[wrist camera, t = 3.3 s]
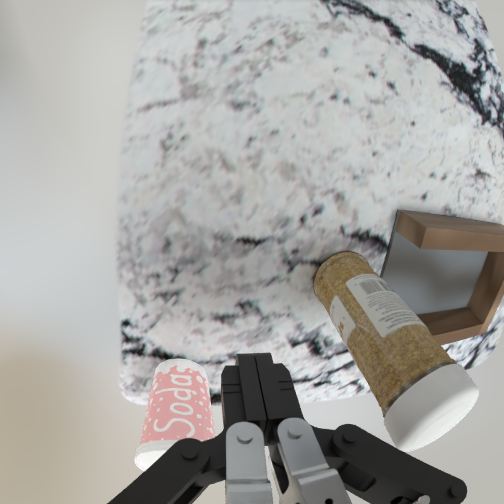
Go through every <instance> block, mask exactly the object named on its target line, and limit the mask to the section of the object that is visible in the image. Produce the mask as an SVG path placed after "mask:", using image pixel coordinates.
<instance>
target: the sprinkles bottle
mask: <svg viewBox="0 0 504 504" xmlns="http://www.w3.org/2000/svg"><path fill="white" fill-rule="evenodd" d="M314 290H315V294H316V296H317V298H318V299H319V301H321V302H322V303H323V305H324V307H325V308H326V310H327V312H328V314H329V315H330V317H331V320H332V322H333V324H334V326H335V327H336V329H337V331H338V333H339V334H340V336H341V338H342V339H343V341H344V343H345V345H346V347H347V348H348V350H349V352H350V354H351V356H352V357H353V359H354V361H355V363H356V365H357V366H358V368H359V370H360V371H361V373H362V374H363V375H364V377H365V379H366V381H367V382H368V384H369V386H370V389H371V391H372V392H373V394H374V396H375V397H376V399H377V401H378V403H379V406H380V407H381V408H382V411H383V417H384V425H385V427H386V429H387V431H388V433H389V435H390V437H391V439H392V441H393V442H394V444H395V446H396V448H397V449H399V450H401V451H412V450H415V449H418V448H421V447H423V446H425V445H427V444H429V443H431V442H433V441H434V440H436V439H437V438H439V437H441V436H442V435H443V434H445V433H446V432H448V431H449V430H450V429H451V428H453V427H454V426H455V425H456V424H457V423H458V422H460V421H461V420H462V419H463V417H464V416H465V415H466V414H467V413H468V412H469V411H470V410H471V408H472V407H473V406H474V404H475V402H476V400H477V398H478V395H479V390H478V387H477V386H476V384H475V383H474V382H473V380H472V378H471V377H470V376H469V374H468V373H467V372H466V371H465V369H464V368H463V367H462V366H461V365H459V364H457V363H456V361H455V360H453V359H451V358H450V357H449V355H448V354H447V353H446V351H445V350H444V349H443V348H442V347H441V345H440V344H439V343H438V342H437V340H436V339H435V338H434V337H433V335H432V334H431V333H430V332H429V330H428V328H427V327H426V326H425V324H424V323H423V322H422V321H421V320H420V319H419V317H418V316H417V315H416V314H415V313H414V312H413V311H412V310H411V308H410V307H409V306H408V305H407V304H406V303H405V302H404V301H403V300H402V299H401V297H400V296H399V295H398V294H397V293H396V292H395V291H394V290H393V289H392V288H391V287H390V286H389V285H388V284H387V283H386V282H385V280H383V279H382V278H381V277H379V276H378V275H377V274H376V273H375V272H374V271H373V270H372V269H371V268H370V266H369V264H368V262H367V261H366V260H365V259H364V257H362V256H361V255H359V254H357V253H353V252H342V253H339V254H336V255H334V256H332V257H331V258H329V259H328V260H326V261H325V262H324V263H323V264H322V265H321V266H320V268H319V269H318V271H317V273H316V277H315V280H314Z"/></svg>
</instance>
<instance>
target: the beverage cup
mask: <svg viewBox="0 0 504 504" xmlns="http://www.w3.org/2000/svg"><path fill="white" fill-rule="evenodd" d="M214 437H215V430H214V424H213V416H212V409H211V401H210V394H209V385H208V377H207V374H206V371H205V369H204V368H202V367H201V366H200V365H199V364H197V363H195V362H193V361H190V360H186V359H179V358H177V359H169V360H166V361H164V362H162V363H160V364H159V365H158V367H157V368H156V369H155V374H154V378H153V383H152V387H151V392H150V397H149V402H148V406H147V411H146V416H145V422H144V427H143V432H142V438H141V444H140V446H139V447H138V448H137V449H136V455H135V465H137V466H138V467H139V468H140V469H141V470H142V471H146V470H147V469H148V468H149V467H150V466H151V465H152V464H153V463H154V462H155V461H156V460H158V459H159V458H160V457H161V456H162V455H163V454H164V453H165V452H166V451H167V450H168V449H169V448H170V447H171V446H172V445H173V444H174V443H176V442H177V441H178V440H181V439H184V438H194V439H197V440H200V441H201V442H202V441H205V440H208V439H212V438H214Z"/></svg>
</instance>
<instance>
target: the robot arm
mask: <svg viewBox="0 0 504 504" xmlns="http://www.w3.org/2000/svg"><path fill="white" fill-rule="evenodd" d="M221 402H222V413H223V424H224V429H223V431H222V432H221V433H220V434H219V435H218V436H216V437H214V438H212V439H208V440H205V441H202V442H201V441H200V440H197V439H194V438H184V439H181V440H178V441H177V442H176V443H174V444H173V445H172V446H171V447H170V448H169V449H168V450H167V451H166V452H165V453H164V454H163V455H162V456H161V457H160V458H159V459H158V460H156V461H155V462H154V463H153V464H152V465H151V466H150V467H149V468H148V469H147V470H146V471H144V472H143V473H142V474H141V475H140V476H139V477H138V478H137V479H136V480H134V481H133V482H132V483H131V484H130V485H129V486H128V487H127V488H125V489H124V490H123V491H122V492H121V493H119V494H118V495H117V496H116V497H115V498H114V499H112V500H111V501H110V502H109V503H107V504H192V503H193V502H194V501H195V500H196V499H197V498H198V497H199V496H200V495H201V493H202V492H203V491H204V490H205V489H206V488H207V487H208V486H209V485H210V484H214V483H216V482H220V481H223V480H225V489H226V490H225V491H226V504H273V497H272V488H271V483H270V481H269V480H268V476H267V467H266V458H265V447H264V446H268V447H269V452H270V454H269V464H270V467H271V471H272V474H273V477H274V481H275V484H276V487H277V490H278V494H279V504H352V502H351V500H350V498H349V496H348V494H347V492H346V490H348V491H349V492H351V493H353V494H354V495H356V496H358V497H360V498H362V499H363V500H365V501H367V502H369V503H371V504H460V503H461V502H463V500H464V499H465V497H466V494H467V487H466V485H465V483H464V482H463V481H462V480H461V479H459V478H457V477H454V476H452V475H450V474H448V473H445V472H443V471H441V470H439V469H437V468H435V467H433V466H430V465H428V464H426V463H424V462H422V461H420V460H418V459H416V458H414V457H412V456H410V455H409V454H407V453H405V452H403V451H401V450H399V449H397V448H395V447H393V446H391V445H390V444H388V443H386V442H384V441H382V440H380V439H379V438H377V437H375V436H373V435H372V434H370V433H368V432H366V431H365V430H363V429H361V428H360V427H358V426H356V425H353V424H344V425H341V426H339V427H338V428H337V429H336V430H329V429H321V428H317V427H314V426H312V425H310V424H309V423H308V422H307V421H306V420H305V419H304V417H303V414H302V412H301V408H300V405H299V402H298V398H297V395H296V392H295V390H294V385H293V382H292V379H291V376H290V372H289V370H288V369H287V368H286V367H285V366H284V365H283V364H282V363H279V364H273V360H272V356H271V353H254V354H253V353H251V354H236V364H235V365H233V366H225V368H224V370H223V372H222V374H221Z"/></svg>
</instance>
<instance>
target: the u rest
mask: <svg viewBox="0 0 504 504" xmlns="http://www.w3.org/2000/svg"><path fill="white" fill-rule="evenodd" d="M380 277H381V278H382V279H383V280H385V282H386V283H387V284H388V285H389V286H390V287H391V288H392V289H393V290H394V291H395V292H396V293H397V294H398V295H399V296H400V297H401V299H402V300H403V301H404V302H405V303H406V304H407V305H408V306H409V307H410V308H411V310H412V311H413V312H414V313H415V314H416V315H417V316H418V317H419V319H420V320H421V321H422V322H423V323H424V324H425V326H426V327H427V328H428V330H429V332H430V333H431V334H432V335H433V337H434V338H435V339H436V340H437V342H438V343H439V344H440V345H444V344H448V343H452V342H456V341H460V340H463V339H467V338H470V337H474V336H477V335H480V334H483V333H485V332H486V330H487V328H488V326H489V324H490V322H491V320H492V318H493V316H494V314H495V312H496V310H497V308H498V306H499V304H500V302H501V299H502V297H503V295H504V226H503V225H501V224H495V223H490V222H484V221H478V220H471V219H465V218H458V217H451V216H444V215H437V214H430V213H422V212H414V211H406V210H398V211H397V216H396V220H395V224H394V228H393V232H392V236H391V240H390V244H389V248H388V252H387V255H386V259H385V263H384V266H383V270H382V273H381V276H380Z"/></svg>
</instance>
